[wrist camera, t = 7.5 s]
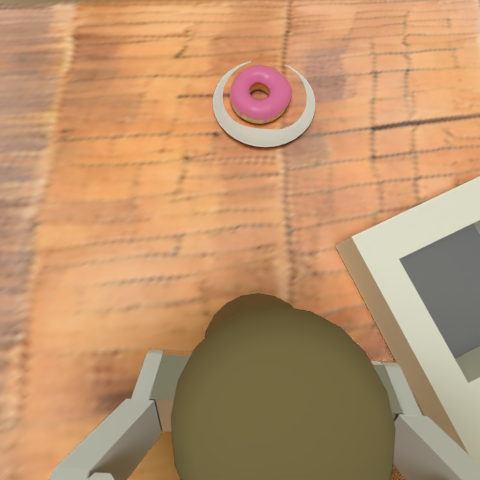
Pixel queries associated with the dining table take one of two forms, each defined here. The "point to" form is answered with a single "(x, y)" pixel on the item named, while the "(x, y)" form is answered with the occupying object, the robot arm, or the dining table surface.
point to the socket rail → (429, 303)
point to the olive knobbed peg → (280, 400)
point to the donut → (261, 106)
